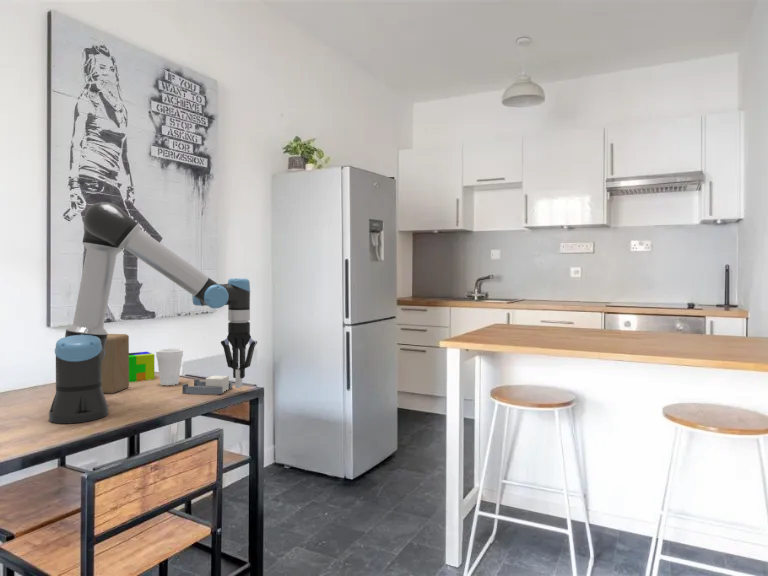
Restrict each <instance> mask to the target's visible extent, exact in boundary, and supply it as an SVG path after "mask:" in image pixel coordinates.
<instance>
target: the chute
mask: <svg viewBox="0 0 768 576" xmlns="http://www.w3.org/2000/svg"><path fill="white" fill-rule="evenodd" d="M181 386H182V393H187V394H186V395H203V394H222V393H223V394H224V392H223V387H211V386H206V380H200V378H195V379H193V385H189V383H183V384H182V385H181ZM231 388H232V389H233V381H229V389H231ZM232 389H231V390H232ZM188 393H189V394H188ZM223 394H222V395H223Z"/></svg>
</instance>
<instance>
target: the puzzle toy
mask: <svg viewBox="0 0 768 576" xmlns="http://www.w3.org/2000/svg"><path fill="white" fill-rule="evenodd" d="M149 379H153V380H155V354H154V353H152V352H149V351H139V352H129V383H136V382H143V381H142V380H145V381H150V380H149ZM135 381H136V382H135Z"/></svg>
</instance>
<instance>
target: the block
mask: <svg viewBox="0 0 768 576" xmlns="http://www.w3.org/2000/svg"><path fill="white" fill-rule="evenodd" d="M205 381H206V386H211V387H223V393H225V392H227V391H229V390H228V389H229V382H230V377H229V375H211V376H209V377H206V378H205ZM226 390H227V391H226ZM224 391H225V392H224Z"/></svg>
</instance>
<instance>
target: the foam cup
mask: <svg viewBox="0 0 768 576" xmlns="http://www.w3.org/2000/svg"><path fill="white" fill-rule="evenodd" d="M183 352H184V351H183V348H161V349H157V350H156V353H155V354H156V355H155V357H156V360H157V367H158V374H159V381H160V386H162V385H173V386H176V385H175V384H177V385H179V383H180V375H181V368H182V361H183V356H184V353H183Z"/></svg>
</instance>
